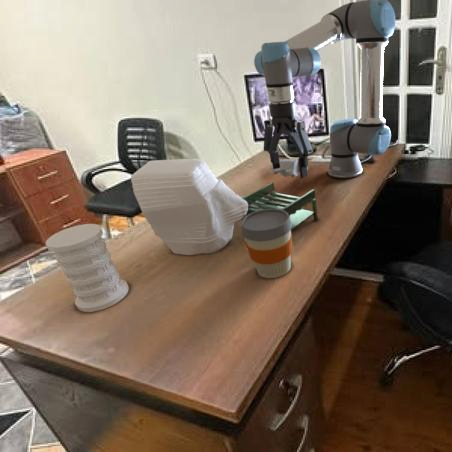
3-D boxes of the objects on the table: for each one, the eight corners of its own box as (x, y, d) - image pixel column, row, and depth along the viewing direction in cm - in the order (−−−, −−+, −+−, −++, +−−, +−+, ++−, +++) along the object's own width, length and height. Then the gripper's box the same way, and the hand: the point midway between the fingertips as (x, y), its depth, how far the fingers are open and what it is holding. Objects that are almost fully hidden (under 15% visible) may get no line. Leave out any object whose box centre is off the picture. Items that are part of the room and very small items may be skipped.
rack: (276, 210, 127) (271, 182, 122) (318, 219, 118) (314, 189, 113) (245, 230, 115) (239, 199, 110) (289, 241, 107) (284, 209, 101)
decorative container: (131, 299, 87) (103, 236, 78) (76, 319, 82) (41, 254, 73) (126, 277, 96) (101, 218, 87) (77, 293, 90) (45, 233, 82)
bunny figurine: (312, 156, 116) (295, 164, 102) (312, 171, 117) (296, 182, 104) (285, 155, 118) (265, 164, 105) (286, 170, 120) (267, 180, 106)
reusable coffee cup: (256, 256, 100) (247, 209, 93) (299, 254, 100) (293, 207, 93) (245, 283, 89) (233, 232, 82) (294, 281, 89) (286, 230, 82)
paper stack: (180, 229, 119) (157, 155, 107) (255, 231, 114) (240, 154, 102) (140, 265, 101) (107, 181, 88) (228, 268, 96) (205, 180, 84)
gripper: (243, 103, 104) (256, 174, 114) (306, 105, 93) (313, 183, 104) (260, 99, 110) (270, 167, 120) (321, 100, 99) (326, 175, 109)
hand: (290, 174), depth 112 cm, fingers closed on bunny figurine, 10 cm apart
